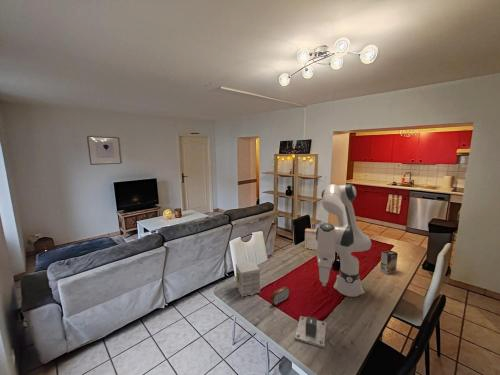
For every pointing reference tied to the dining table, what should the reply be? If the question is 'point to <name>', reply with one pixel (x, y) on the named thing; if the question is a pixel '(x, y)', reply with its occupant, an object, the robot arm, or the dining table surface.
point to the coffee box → (388, 262)
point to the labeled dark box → (311, 325)
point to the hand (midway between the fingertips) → (324, 279)
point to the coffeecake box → (310, 238)
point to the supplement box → (248, 278)
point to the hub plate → (309, 337)
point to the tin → (280, 295)
